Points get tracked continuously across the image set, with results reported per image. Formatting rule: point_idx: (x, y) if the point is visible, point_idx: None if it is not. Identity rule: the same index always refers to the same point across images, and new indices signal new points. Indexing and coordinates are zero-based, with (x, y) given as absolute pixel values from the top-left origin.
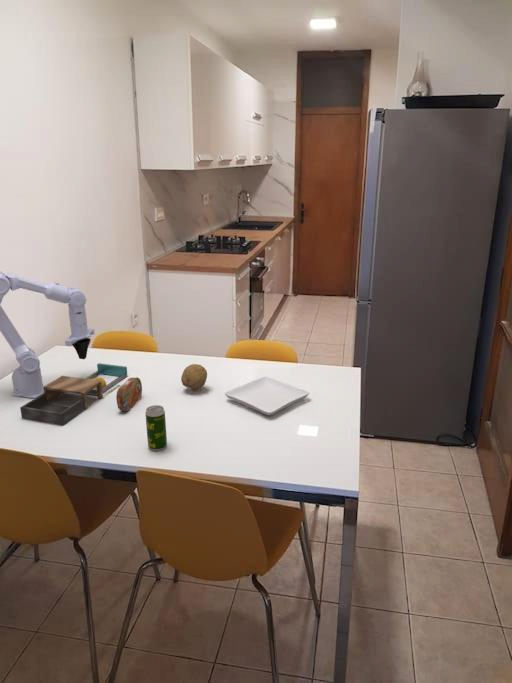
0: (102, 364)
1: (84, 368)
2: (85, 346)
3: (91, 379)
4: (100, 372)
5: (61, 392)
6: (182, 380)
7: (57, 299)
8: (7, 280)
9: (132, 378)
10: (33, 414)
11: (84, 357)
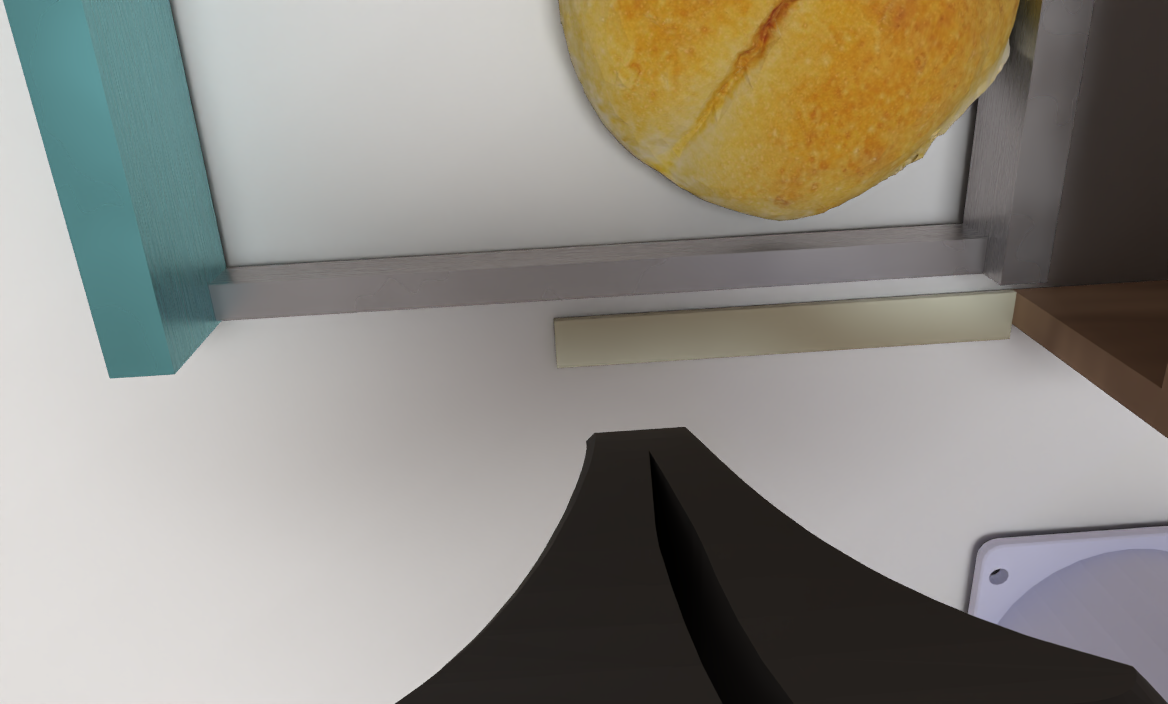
0: (120, 268)
1: (173, 609)
2: (748, 620)
3: (722, 80)
4: (216, 262)
5: (1144, 297)
6: None
7: None
8: None
9: None
10: None
11: (688, 439)
